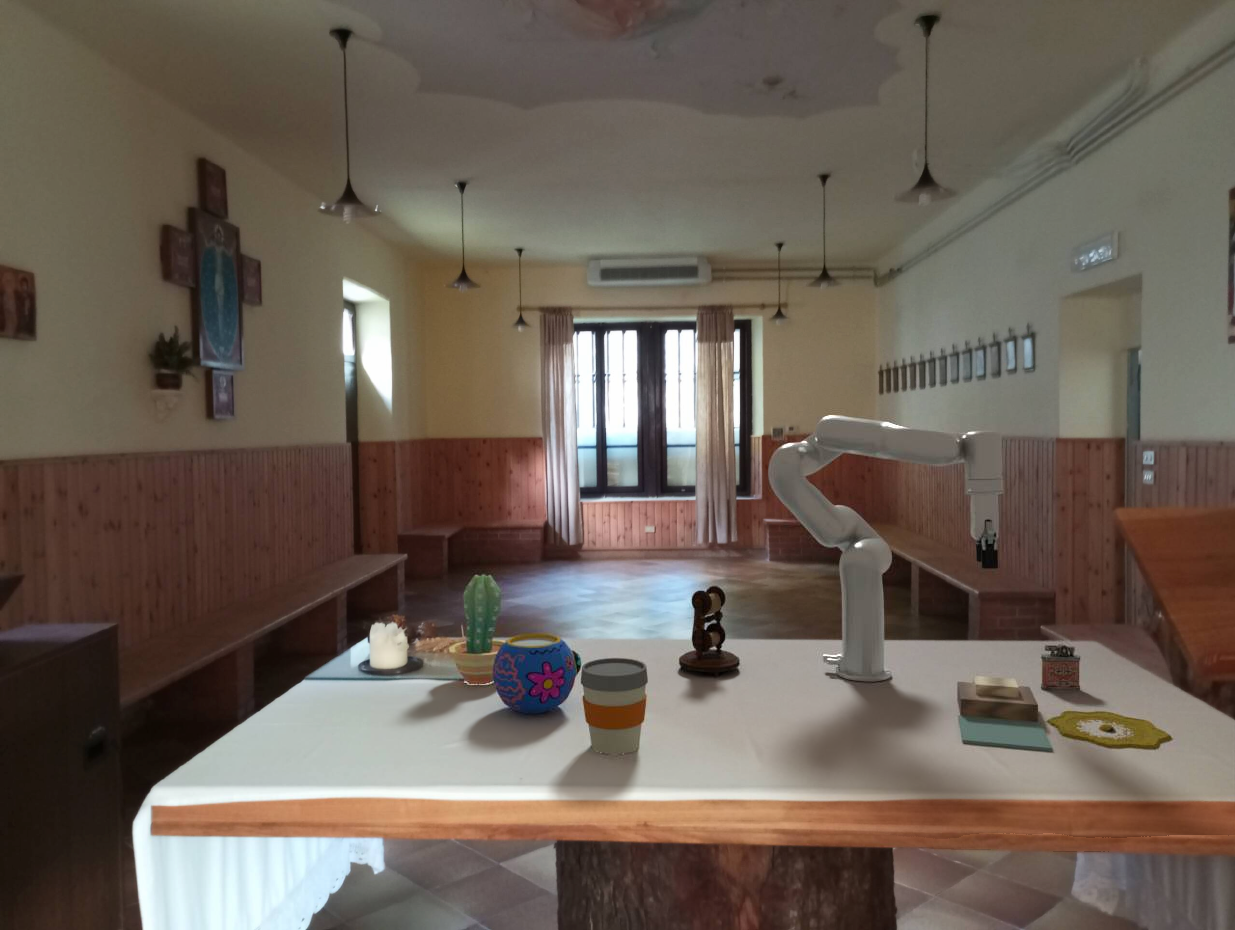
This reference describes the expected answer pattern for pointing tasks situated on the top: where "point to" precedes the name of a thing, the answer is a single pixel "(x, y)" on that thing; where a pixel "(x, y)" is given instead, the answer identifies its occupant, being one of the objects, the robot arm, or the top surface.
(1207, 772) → the top surface
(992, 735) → the mat
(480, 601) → the potted cactus
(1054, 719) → the decorative medallion
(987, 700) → the brown flat block
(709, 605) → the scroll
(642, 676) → the reusable coffee cup
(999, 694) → the tile
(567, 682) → the ceramic pot
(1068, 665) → the lighter
